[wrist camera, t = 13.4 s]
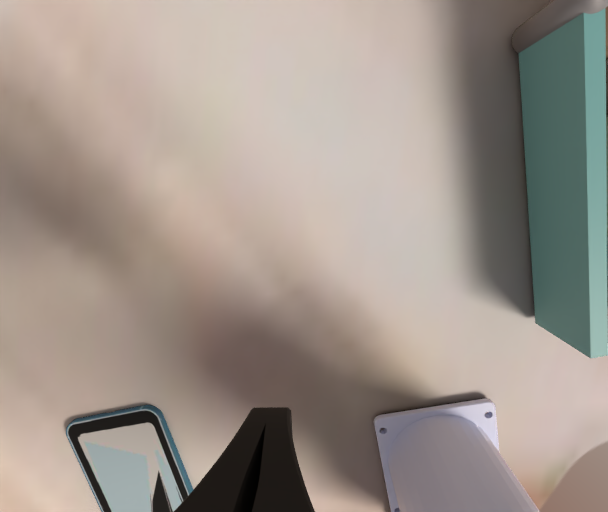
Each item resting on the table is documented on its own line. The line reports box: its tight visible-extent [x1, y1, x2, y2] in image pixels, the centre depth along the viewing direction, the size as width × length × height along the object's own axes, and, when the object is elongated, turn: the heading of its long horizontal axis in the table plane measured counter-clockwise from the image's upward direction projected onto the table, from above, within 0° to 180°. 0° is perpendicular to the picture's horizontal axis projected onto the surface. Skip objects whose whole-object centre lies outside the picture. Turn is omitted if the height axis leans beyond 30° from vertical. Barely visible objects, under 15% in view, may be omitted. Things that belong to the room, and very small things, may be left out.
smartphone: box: [66, 405, 193, 512], centre depth 24 cm, size 7×1×15 cm
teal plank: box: [512, 0, 608, 358], centre depth 16 cm, size 17×1×4 cm, turn 13°
